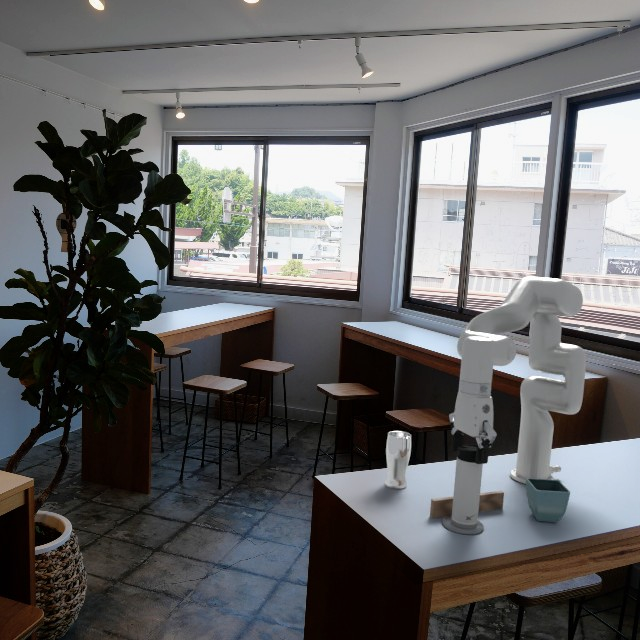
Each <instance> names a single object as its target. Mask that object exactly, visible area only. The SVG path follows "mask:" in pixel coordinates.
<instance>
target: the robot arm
mask: <svg viewBox="0 0 640 640" xmlns="http://www.w3.org/2000/svg"><path fill="white" fill-rule="evenodd" d="M583 299H584V298H583V293H582V291H581V289H580V288H579V287H577V286H576V285H575V284H573V283H570V282H568V281H566V280H564V279H561V278H555V277H554V278H552V277H544V276H543V277H540V276H525V277H522V278H520V279H519V280H518V281H517V282H516V283H515V284H514V285H513V287H512V288H511V290H510V292H509V293H508V295H507V296H506V297H505V299H504V300H503V302H502V303H501V304H500V305H499V306H496V307H493V308H491V309H489V310H487V311H484V312H482V313H480V314H477V315H476V316H475V317H473V318H471V320H470V321H469V322H468V323H467V325H466V326H465V327H464V329H463V330H462V331H461V334H460V335H459V338H458V341H457V345H456V349H457V354H458V355H459V356H460V358H461V361H460V372H459V373H460V374H459V384H458V392H457V396H456V401H455V404H454V405H455V406H454V411H453V412H452V413H449V415H448V417H449V426H450V429H451V432H450V433H451V435H452V436H451V448H450V449H451V451H453V452H458V447H461V446H462V445H465V444H464V442H465V434H466V435H468V436H469V437H472V438H474V439H475V440H476V443H477V445H478V446H479V447H477V448H476V459H475V463H476V464H483V465H484V464H487V463H488V462H489V454H490V453H489V452H490V448H492V445H493V444H494V443H495V439H496V437H497V432H496V431H495V429H494V403H493V397H492V396H491V395H492V393H491V392H492V382H493V371H494V366H495V367H505V366H508V365H510V364H511V363H512V362H513V361H514V360H515V357H516V356H517V345H516V342H515V341H514V340H513V339H512V338H511V337H509V336H506V335H502V334H505V333H506V334H507V333H512V332H516V331H520V330H523V329H524V328H526V327H527V326H528V325H529V323H530V337H529V348H528V349H529V350H528V365H529V367H530V369H531V370H532V371H535V372H537V373H543V374H548V375H554V376H560V377H563V378H564V380H563V379H558V378H557V379H556V378H552V377H547V376H540V375H531V376H528V377H525V378H524V379H523V380H522V382H521V384H520V387H519V388H520V392H519V393H520V405H521V407H520V408H521V410H520V411H521V412H520V424H519V425H520V426H519V435H518V445H517V453H516V454H517V455H516V465H515V468H513V469H511V470H510V471H509V472H510V474H509V475H510V477H511V478H512V480H514V481H517V482H519V483H521V484H524V485H525V484H526V478H531V479H547V480H555V479H554V477H553V475H552V474H553V473H560V472H561V471H562V467H561V466H560V465H552V464H551V456H552V447H553V446H552V445H553V436H554V428H555V425H554V424H555V423H554V420H553V418H552V416H551V414H550V412H555V413H559V414H563V415H576V414H577V413H579V411H580V410H581V409H582V408H581V407H582V403H583V398H584V391H585V390H584V389H585V380H586V378H585V377H586V367H587V357H586V352H585V350H584V349H583V347H581V346H579V345H575V344H570V343H564V342H562V341H561V340H562V339H561V338H562V323H561V320H560V318H559V316H561V317H574V316H577V315H578V313H580V311H581V310H582V307H583V302H584V300H583ZM482 439H483V440H482Z"/></svg>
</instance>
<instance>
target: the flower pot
mask: <svg viewBox="0 0 640 640" xmlns="http://www.w3.org/2000/svg"><path fill="white" fill-rule="evenodd" d="M525 486H526V487H525V488H526V491H525V492H526V498H527V503H528V507H529V510H530V511H531V514H532V515H533V517H535V519H536V521H538V522H550V523H558V522H559V521H560V520H561V519H562V518H563V517H564V516H565V513H566V511H567V508H568V504H569V500H570V497H571V491H570V490H569V489H568V488H567V487H566V486H565V485H564V484H563V483H562V481H560V480H557V479H554V480H547V479H531V478H526V485H525Z"/></svg>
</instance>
